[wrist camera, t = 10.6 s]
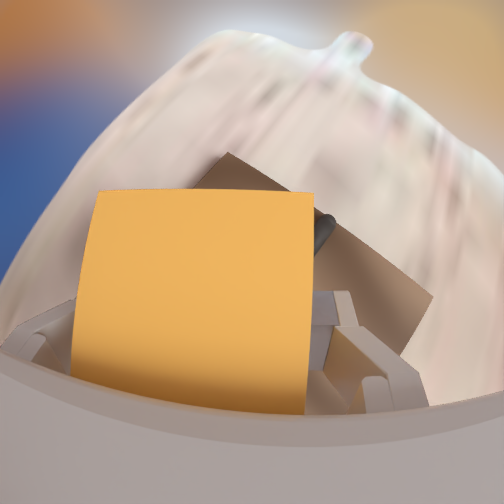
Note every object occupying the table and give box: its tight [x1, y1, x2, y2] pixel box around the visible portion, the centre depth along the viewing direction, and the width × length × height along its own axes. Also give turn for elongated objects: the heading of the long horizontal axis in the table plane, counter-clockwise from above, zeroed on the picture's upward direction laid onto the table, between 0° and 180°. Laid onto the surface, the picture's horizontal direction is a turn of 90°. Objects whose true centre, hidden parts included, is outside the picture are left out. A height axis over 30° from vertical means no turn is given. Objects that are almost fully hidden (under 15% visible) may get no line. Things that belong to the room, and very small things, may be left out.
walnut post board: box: [193, 152, 433, 415], centre depth 16 cm, size 18×18×7 cm
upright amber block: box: [70, 189, 314, 415], centre depth 9 cm, size 5×5×8 cm
